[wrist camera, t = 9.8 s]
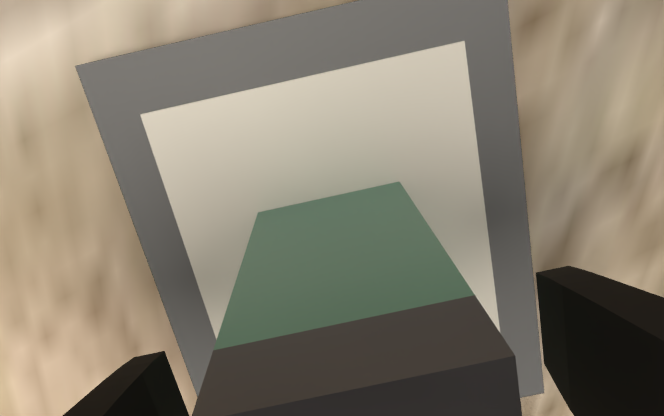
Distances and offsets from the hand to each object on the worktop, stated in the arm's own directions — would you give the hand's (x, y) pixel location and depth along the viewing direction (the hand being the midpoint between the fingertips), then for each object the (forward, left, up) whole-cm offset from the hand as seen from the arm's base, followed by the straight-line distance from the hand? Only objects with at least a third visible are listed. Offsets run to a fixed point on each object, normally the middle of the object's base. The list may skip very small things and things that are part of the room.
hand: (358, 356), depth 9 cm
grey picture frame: (0, 0, -6) cm, 6 cm away
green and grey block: (0, 0, -5) cm, 5 cm away
